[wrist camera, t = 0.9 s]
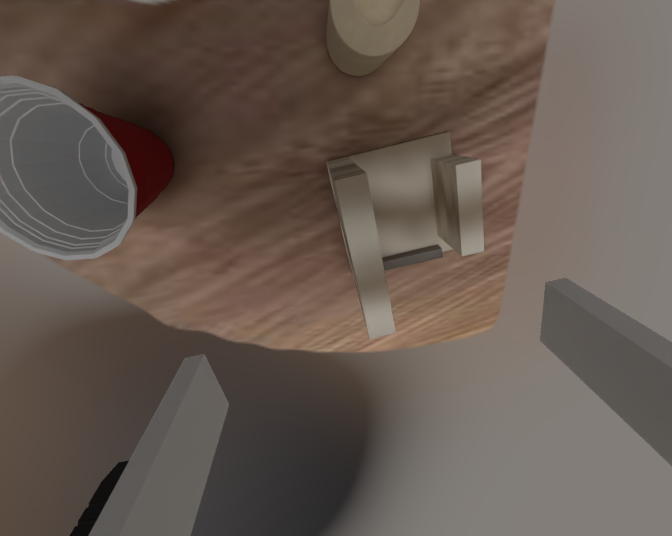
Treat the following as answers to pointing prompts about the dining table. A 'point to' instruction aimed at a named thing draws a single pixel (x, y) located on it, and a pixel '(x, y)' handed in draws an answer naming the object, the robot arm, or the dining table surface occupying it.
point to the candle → (367, 32)
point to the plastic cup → (72, 172)
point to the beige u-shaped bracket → (404, 213)
